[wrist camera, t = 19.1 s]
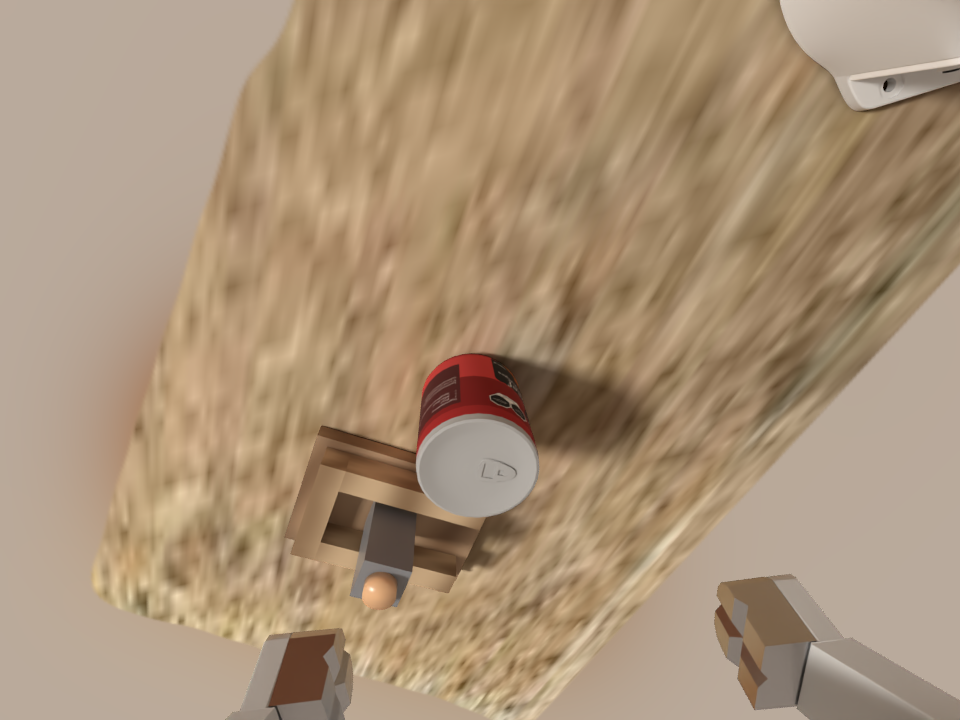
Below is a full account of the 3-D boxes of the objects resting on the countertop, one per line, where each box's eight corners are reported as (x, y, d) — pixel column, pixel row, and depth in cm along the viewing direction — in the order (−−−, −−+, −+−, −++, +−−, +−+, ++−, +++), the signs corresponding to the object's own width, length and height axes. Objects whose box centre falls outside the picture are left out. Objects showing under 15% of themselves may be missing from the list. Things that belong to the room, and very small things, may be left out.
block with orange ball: (417, 502, 46) (411, 585, 38) (404, 533, 47) (395, 620, 39) (377, 490, 45) (361, 572, 37) (365, 522, 47) (347, 609, 38)
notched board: (498, 478, 48) (503, 507, 44) (455, 568, 51) (455, 602, 48) (321, 425, 44) (310, 452, 41) (288, 525, 48) (276, 558, 45)
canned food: (520, 429, 46) (541, 514, 36) (427, 437, 45) (421, 524, 35) (517, 346, 43) (539, 412, 33) (417, 354, 42) (408, 423, 32)
